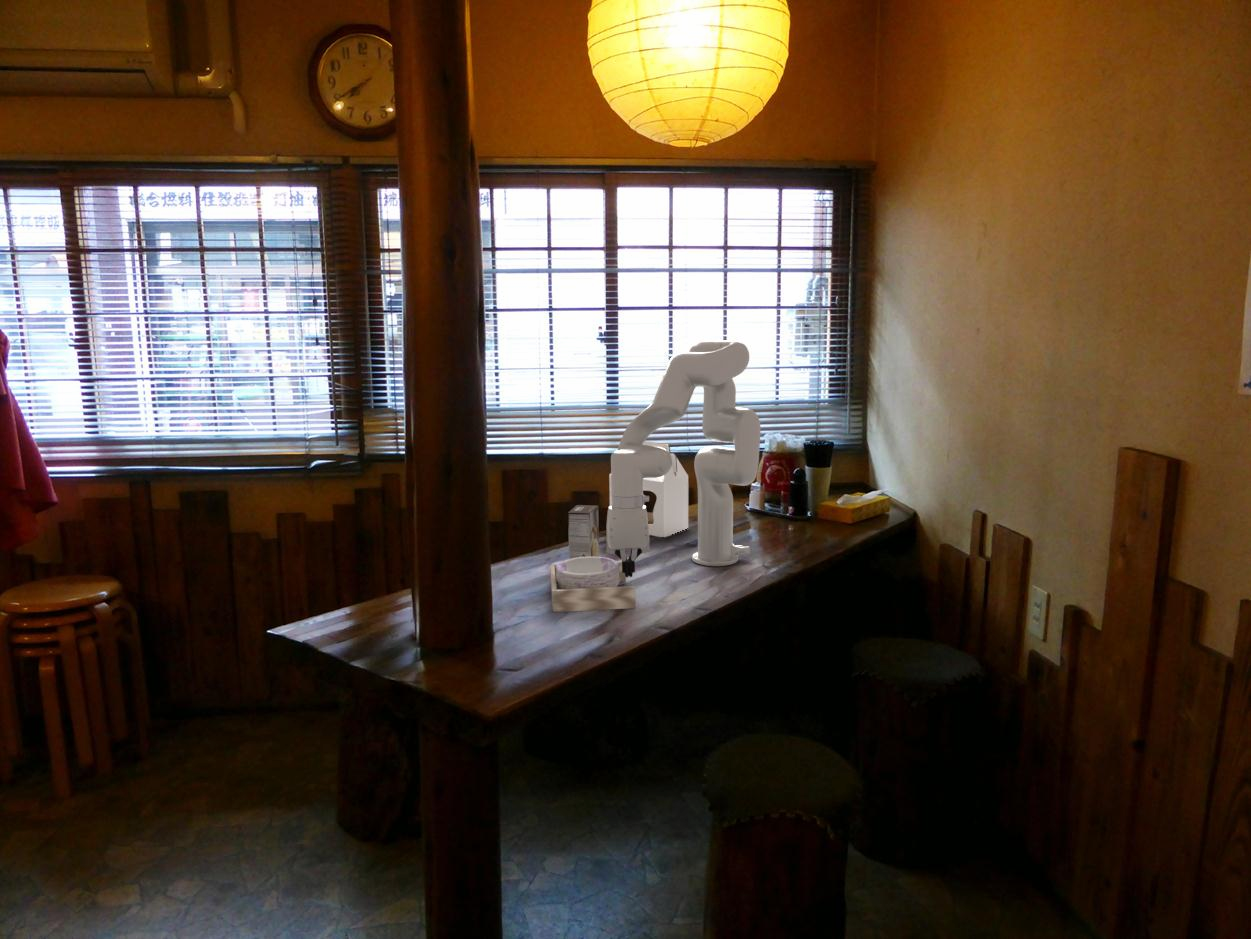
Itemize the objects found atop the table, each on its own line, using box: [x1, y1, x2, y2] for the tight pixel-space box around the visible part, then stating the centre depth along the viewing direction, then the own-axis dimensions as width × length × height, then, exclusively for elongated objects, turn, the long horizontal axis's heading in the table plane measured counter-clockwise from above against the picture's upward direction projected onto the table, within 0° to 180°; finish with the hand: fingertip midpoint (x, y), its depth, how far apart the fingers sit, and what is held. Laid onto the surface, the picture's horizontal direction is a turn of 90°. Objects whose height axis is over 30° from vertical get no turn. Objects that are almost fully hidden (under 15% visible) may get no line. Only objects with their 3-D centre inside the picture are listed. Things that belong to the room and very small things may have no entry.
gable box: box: [608, 440, 689, 538], centre depth 256 cm, size 22×13×28 cm, turn 51°
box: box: [549, 560, 637, 613], centre depth 195 cm, size 19×21×5 cm
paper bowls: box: [556, 556, 620, 590], centre depth 194 cm, size 15×15×8 cm
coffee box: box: [567, 504, 601, 560], centre depth 217 cm, size 9×6×16 cm
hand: (628, 575), depth 195 cm, fingers closed
